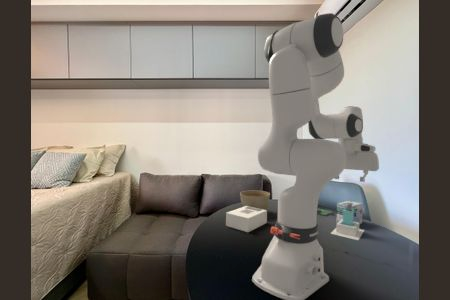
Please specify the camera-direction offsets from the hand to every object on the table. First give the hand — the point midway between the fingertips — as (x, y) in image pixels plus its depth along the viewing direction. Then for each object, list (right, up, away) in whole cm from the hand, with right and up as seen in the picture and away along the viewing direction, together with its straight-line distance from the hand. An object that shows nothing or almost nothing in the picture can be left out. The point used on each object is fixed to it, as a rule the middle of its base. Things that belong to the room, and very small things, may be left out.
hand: (349, 180), depth 96 cm
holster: (0, -23, 0) cm, 23 cm away
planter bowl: (-35, -22, +30) cm, 52 cm away
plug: (0, -22, 0) cm, 22 cm away
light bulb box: (+6, -23, +12) cm, 27 cm away
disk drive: (-2, -23, +30) cm, 38 cm away
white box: (-41, -22, +12) cm, 48 cm away
